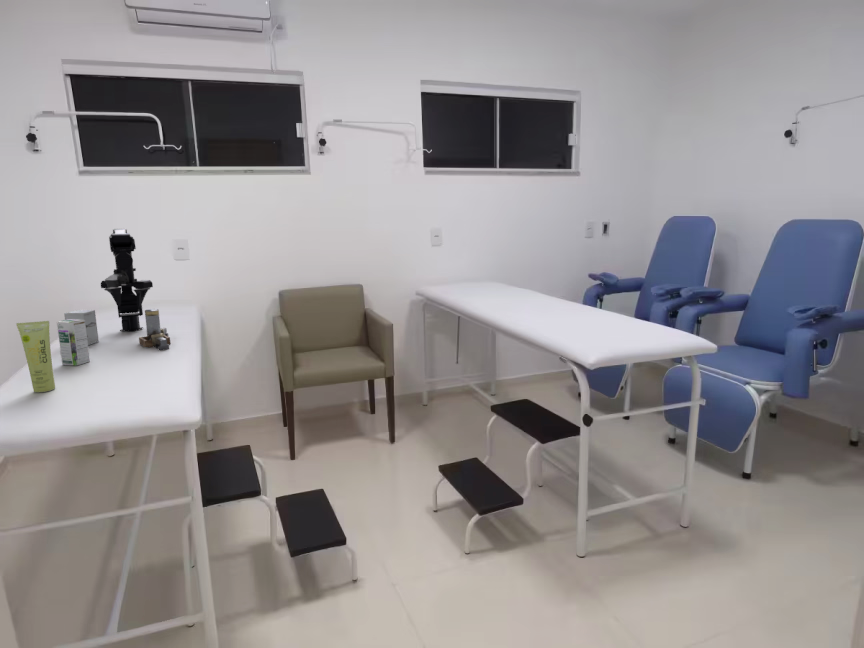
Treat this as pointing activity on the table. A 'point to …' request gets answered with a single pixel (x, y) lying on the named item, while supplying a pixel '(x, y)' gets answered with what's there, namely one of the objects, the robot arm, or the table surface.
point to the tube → (38, 354)
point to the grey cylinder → (152, 322)
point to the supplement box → (86, 323)
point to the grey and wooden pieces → (160, 340)
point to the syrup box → (73, 342)
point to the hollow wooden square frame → (150, 341)
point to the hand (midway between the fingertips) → (129, 306)
